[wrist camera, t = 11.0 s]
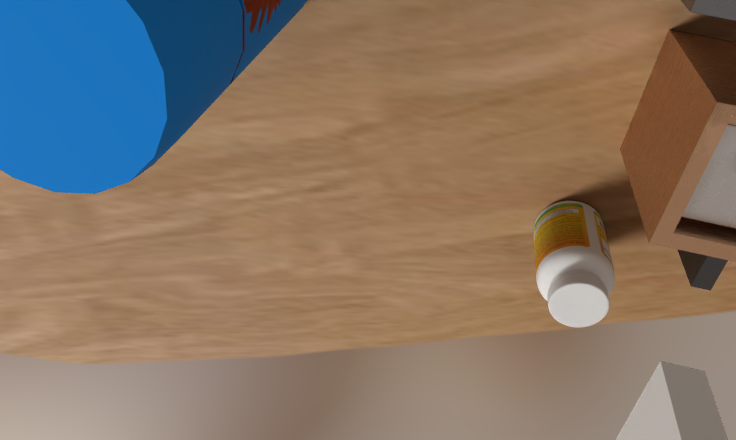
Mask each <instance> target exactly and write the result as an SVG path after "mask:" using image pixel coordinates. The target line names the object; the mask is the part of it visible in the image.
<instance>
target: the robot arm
mask: <svg viewBox="0 0 736 440" xmlns="http://www.w3.org/2000/svg"><path fill="white" fill-rule="evenodd" d="M616 440H728V438H727V435H726V432H725V429H724V426H723V423H722V421H721V417H720V415H719V412H718V409H717V406H716V403H715V400H714V397H713V394H712V391H711V388H710V385H709V382H708V379H707V376H706V373H705V371H702V370H698V369H694V368H689V367H685V366H680V365H676V364H672V363H667V362H663V361H660V363H659V364H658V366H657V368H656V370H655V372H654V373H653V375H652V377H651V379H650V380H649V382H648V384H647V386H646V388H645V389H644V391H643V393H642V394H641V396H640V398H639V400H638V401H637V403H636V405H635V407H634V409H633V410H632V412H631V414H630V416H629V417H628V419H627V421H626V423H625V424H624V426H623V428H622V430H621V431H620V433H619V435H618V436H617V438H616Z"/></svg>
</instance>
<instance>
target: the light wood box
mask: <svg viewBox="0 0 736 440" xmlns="http://www.w3.org/2000/svg"><path fill="white" fill-rule="evenodd" d="M728 124H731V125H736V43H734V42H729V41H724V40H719V39H714V38H709V37H703V36H698V35H693V34H688V33H683V32H678V31H672V30H669V32H668V34H667V37H666V39H665V41H664V44H663V46H662V49H661V51H660V54H659V56H658V59H657V61H656V63H655V66H654V68H653V71H652V73H651V76H650V78H649V81H648V83H647V85H646V88H645V90H644V93H643V95H642V98H641V100H640V102H639V105H638V107H637V110H636V112H635V115H634V117H633V120H632V122H631V124H630V127H629V129H628V132H627V134H626V137H625V139H624V141H623V144H622V146H621V149H620V151H621V154H622V157H623V161H624V164H625V167H626V170H627V173H628V177H629V180H630V183H631V186H632V190H633V193H634V196H635V199H636V203H637V206H638V209H639V212H640V216H641V219H642V222H643V225H644V229H645V232H646V235H647V238H648V241H649V243H651V244H655V245H660V246H665V247H669V248H674V249H678V252H679V255H680V258H681V260H682V263H683V266H684V269H685V271H686V274H687V277H688V280H689V282H690V285H691V286H693V287H698V288H702V289H707V290H711V289H712V287H713V285H714V283H715V282H716V280H717V278H718V277H719V275H720V273H721V271H722V270H723V268H724V266H725V265H726V263H727V261H728V260H729V261H734V262H736V228H732V227H727V226H723V225H718V224H713V223H709V222H704V221H699V220H695V219H690V218H685V217H682V215H683V213H684V211H685V209H686V207H687V205H688V203H689V201H690V199H691V197H692V195H693V193H694V191H695V189H696V187H697V185H698V183H699V181H700V179H701V177H702V175H703V173H704V171H705V169H706V167H707V165H708V163H709V161H710V159H711V157H712V155H713V153H714V151H715V149H716V147H717V145H718V143H719V141H720V139H721V137H722V135H723V133H724V131H725V129H726V127H727V125H728Z"/></svg>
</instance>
